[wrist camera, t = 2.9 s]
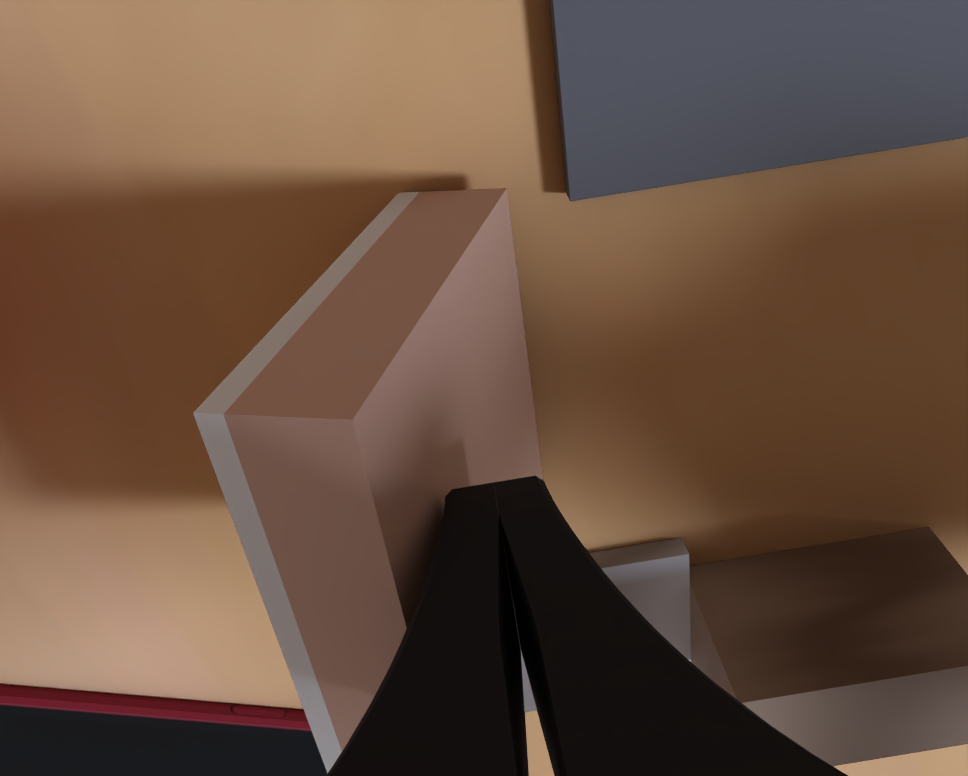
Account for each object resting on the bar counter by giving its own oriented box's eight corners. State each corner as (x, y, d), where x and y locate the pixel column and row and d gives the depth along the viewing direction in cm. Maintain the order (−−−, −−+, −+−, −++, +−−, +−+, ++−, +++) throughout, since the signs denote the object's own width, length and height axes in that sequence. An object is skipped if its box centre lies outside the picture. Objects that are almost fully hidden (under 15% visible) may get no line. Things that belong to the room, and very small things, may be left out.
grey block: (933, 495, 20) (1041, 622, 17) (910, 629, 23) (1001, 764, 19) (471, 571, 20) (487, 713, 17) (495, 697, 23) (513, 844, 19)
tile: (506, 187, 15) (353, 419, 9) (546, 502, 19) (452, 804, 13) (398, 192, 16) (192, 413, 10) (457, 496, 19) (331, 783, 14)
